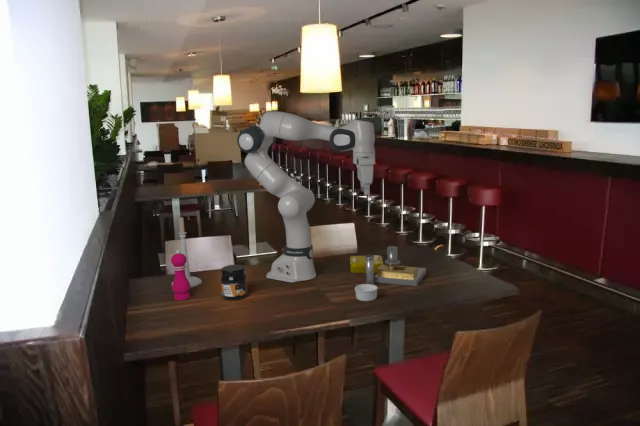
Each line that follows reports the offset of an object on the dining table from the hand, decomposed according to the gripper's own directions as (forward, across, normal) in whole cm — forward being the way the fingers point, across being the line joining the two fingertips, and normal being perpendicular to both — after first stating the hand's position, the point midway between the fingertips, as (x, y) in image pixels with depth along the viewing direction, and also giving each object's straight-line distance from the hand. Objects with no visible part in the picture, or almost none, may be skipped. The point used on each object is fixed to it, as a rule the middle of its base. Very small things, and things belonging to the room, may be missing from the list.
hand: (364, 192), depth 214 cm
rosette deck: (+39, -6, +15) cm, 42 cm away
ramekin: (+39, +17, -2) cm, 43 cm away
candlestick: (+39, -12, -78) cm, 88 cm away
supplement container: (+39, +8, -55) cm, 68 cm away
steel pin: (+39, +1, +1) cm, 39 cm away
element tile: (+39, -23, +3) cm, 46 cm away
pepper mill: (+39, +7, -76) cm, 86 cm away
